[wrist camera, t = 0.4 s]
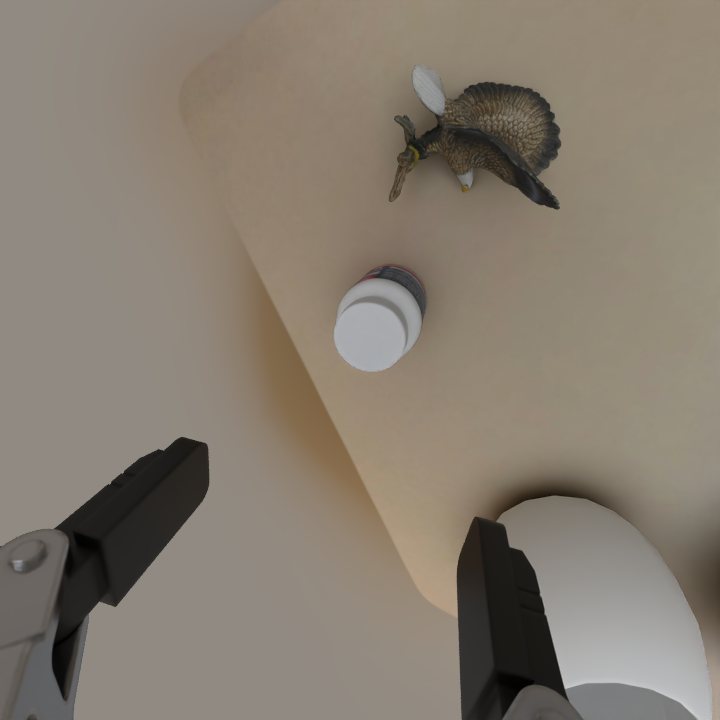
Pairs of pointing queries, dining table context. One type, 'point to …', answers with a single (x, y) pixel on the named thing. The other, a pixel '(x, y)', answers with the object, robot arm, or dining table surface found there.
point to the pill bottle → (380, 318)
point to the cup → (612, 613)
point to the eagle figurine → (484, 134)
